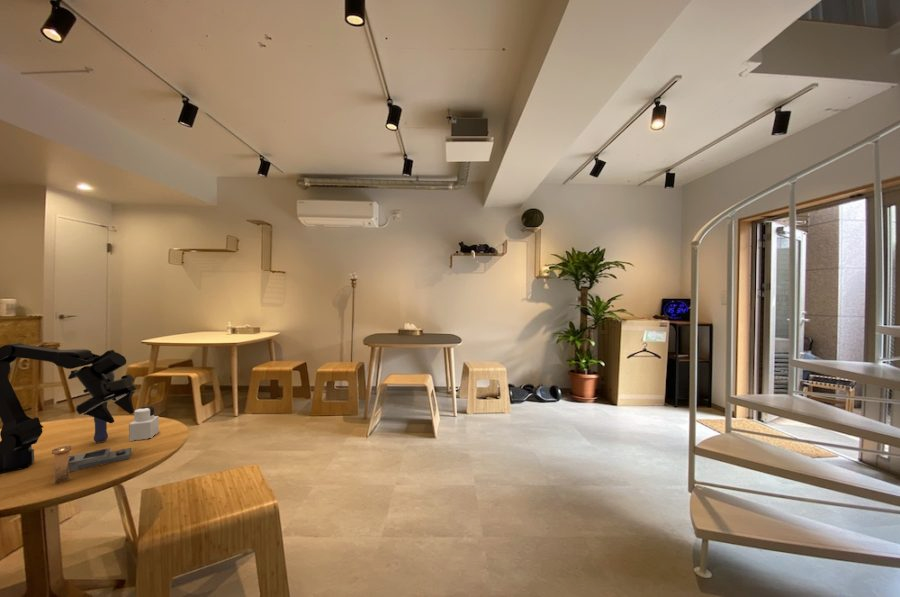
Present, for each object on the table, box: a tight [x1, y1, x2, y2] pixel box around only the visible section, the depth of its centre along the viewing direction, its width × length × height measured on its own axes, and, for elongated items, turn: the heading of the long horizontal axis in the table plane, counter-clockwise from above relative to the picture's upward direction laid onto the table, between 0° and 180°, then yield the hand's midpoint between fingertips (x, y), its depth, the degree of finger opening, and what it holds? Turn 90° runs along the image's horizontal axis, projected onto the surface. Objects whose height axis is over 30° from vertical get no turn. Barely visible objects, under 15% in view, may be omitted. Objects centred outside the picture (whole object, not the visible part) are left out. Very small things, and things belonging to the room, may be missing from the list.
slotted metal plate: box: [69, 447, 132, 473], centre depth 118 cm, size 17×7×4 cm, turn 130°
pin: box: [51, 445, 72, 484], centre depth 106 cm, size 4×4×10 cm
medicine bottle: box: [128, 405, 160, 442], centre depth 139 cm, size 7×7×12 cm
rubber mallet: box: [93, 371, 116, 444], centre depth 134 cm, size 12×8×30 cm, turn 50°
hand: (123, 417), depth 120 cm, fingers open, 9 cm apart
